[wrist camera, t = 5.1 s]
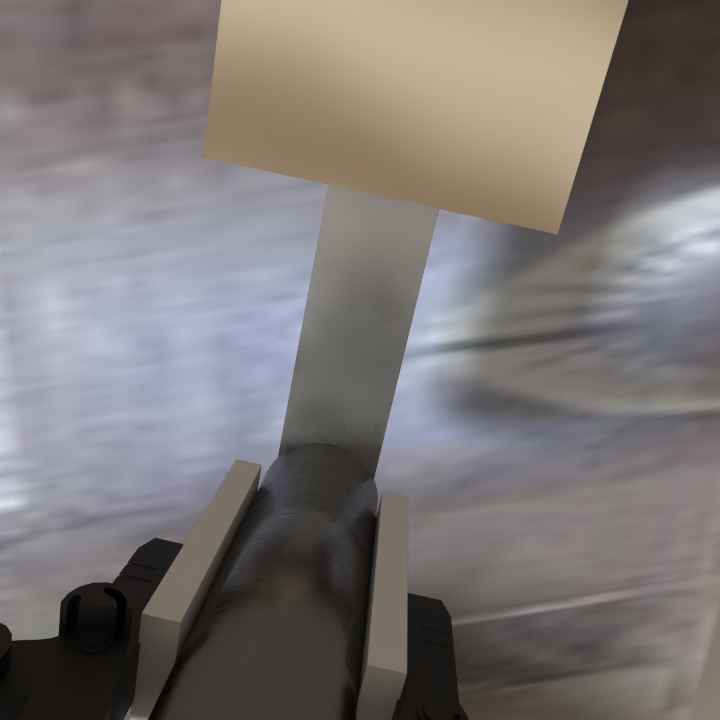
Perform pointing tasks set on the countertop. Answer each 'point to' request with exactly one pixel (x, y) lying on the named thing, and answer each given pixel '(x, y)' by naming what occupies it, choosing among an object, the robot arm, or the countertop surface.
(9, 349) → the countertop surface
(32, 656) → the robot arm
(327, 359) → the grey l-shaped piece
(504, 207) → the block
